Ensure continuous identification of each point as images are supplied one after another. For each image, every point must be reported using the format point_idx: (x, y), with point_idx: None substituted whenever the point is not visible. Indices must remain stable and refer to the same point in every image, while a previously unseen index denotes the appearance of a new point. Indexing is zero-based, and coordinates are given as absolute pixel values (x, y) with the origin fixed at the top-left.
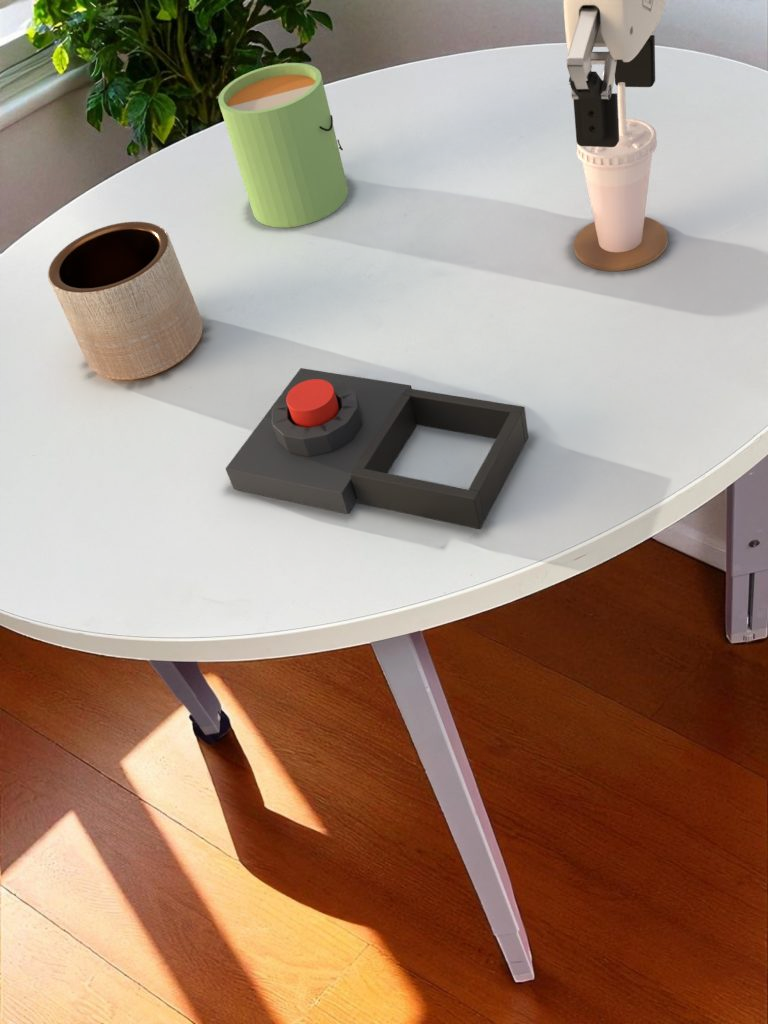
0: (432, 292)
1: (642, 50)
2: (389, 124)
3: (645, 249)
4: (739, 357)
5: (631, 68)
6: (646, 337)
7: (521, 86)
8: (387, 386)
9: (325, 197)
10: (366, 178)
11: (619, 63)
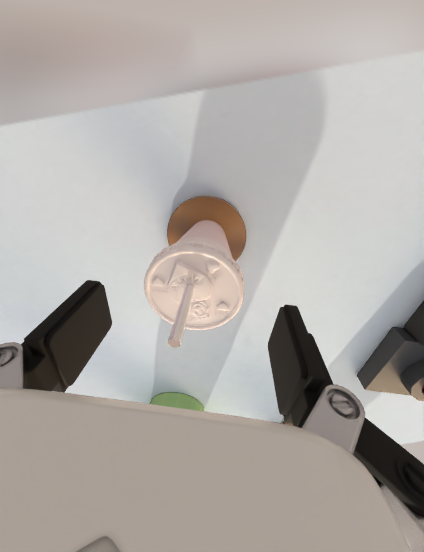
0: (267, 340)
1: (67, 337)
2: (90, 388)
3: (219, 214)
4: (405, 80)
5: (92, 327)
6: (347, 189)
7: (14, 337)
8: (401, 351)
9: (186, 406)
10: (149, 388)
11: (92, 347)
